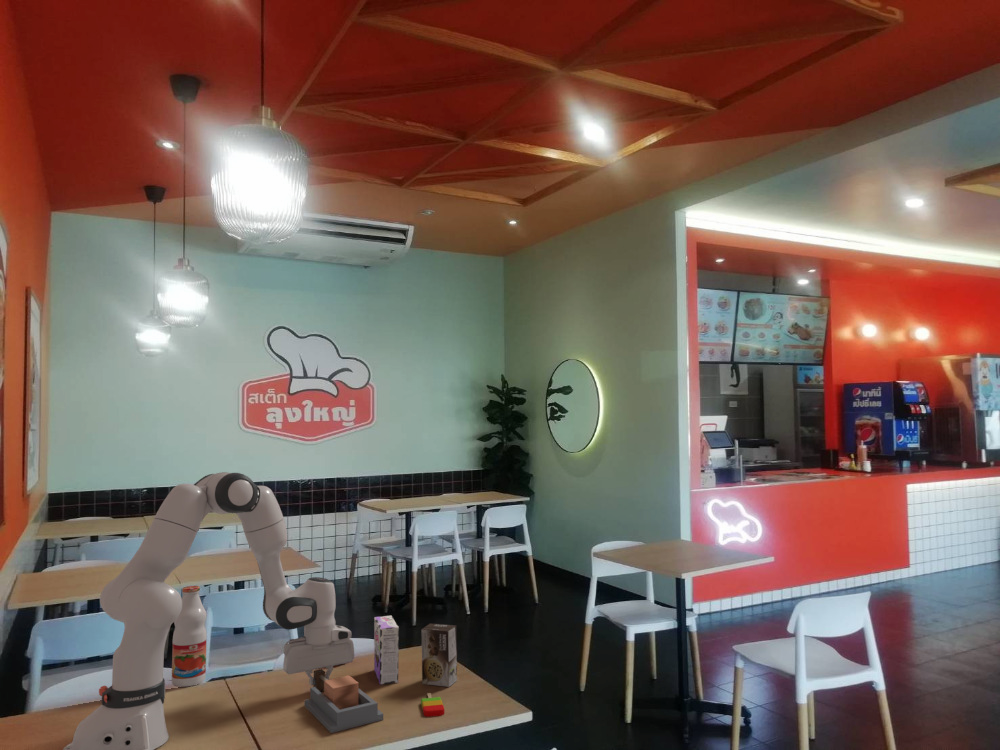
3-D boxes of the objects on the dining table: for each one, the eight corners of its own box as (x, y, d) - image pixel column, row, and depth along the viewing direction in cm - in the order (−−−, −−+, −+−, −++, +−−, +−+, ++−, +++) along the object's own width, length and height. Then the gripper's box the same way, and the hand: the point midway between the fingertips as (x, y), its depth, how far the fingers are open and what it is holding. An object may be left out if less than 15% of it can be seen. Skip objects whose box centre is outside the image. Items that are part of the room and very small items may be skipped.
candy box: (373, 669, 217) (373, 616, 219) (392, 667, 219) (392, 614, 220) (379, 685, 204) (379, 628, 205) (399, 682, 206) (399, 626, 207)
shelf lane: (331, 733, 172) (331, 714, 172) (304, 705, 189) (304, 688, 189) (383, 719, 179) (383, 701, 180) (353, 694, 197) (353, 678, 197)
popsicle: (424, 718, 181) (424, 711, 181) (419, 697, 195) (419, 690, 196) (445, 716, 182) (445, 709, 182) (438, 695, 197) (438, 689, 197)
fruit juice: (203, 674, 215) (205, 582, 217) (207, 683, 207) (210, 588, 209) (169, 680, 210) (172, 586, 212) (173, 689, 202) (176, 592, 204)
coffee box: (457, 680, 207) (457, 625, 209) (449, 687, 201) (448, 630, 203) (430, 676, 211) (430, 622, 212) (420, 684, 205) (420, 628, 206)
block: (333, 716, 181) (333, 688, 181) (305, 690, 199) (305, 664, 200) (358, 710, 184) (358, 682, 185) (329, 685, 203) (329, 660, 204)
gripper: (287, 643, 193) (286, 694, 192) (356, 631, 204) (356, 679, 203) (280, 637, 198) (279, 687, 197) (348, 626, 209) (348, 673, 208)
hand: (319, 683), depth 200 cm, fingers closed on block, 2 cm apart
